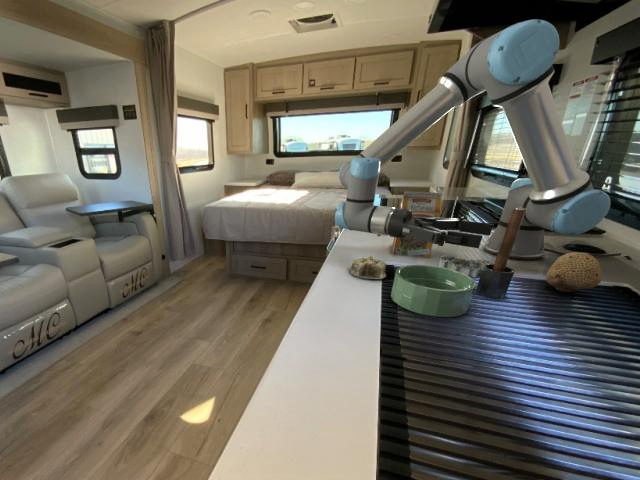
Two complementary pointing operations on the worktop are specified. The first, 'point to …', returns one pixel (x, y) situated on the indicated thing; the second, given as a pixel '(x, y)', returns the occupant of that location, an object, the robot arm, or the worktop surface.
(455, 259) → the egg carton
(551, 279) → the natural sponge
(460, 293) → the bowl
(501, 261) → the stick
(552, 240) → the worktop surface
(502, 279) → the utensil cup
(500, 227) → the robot arm
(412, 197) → the yellow food carton
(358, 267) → the cake
